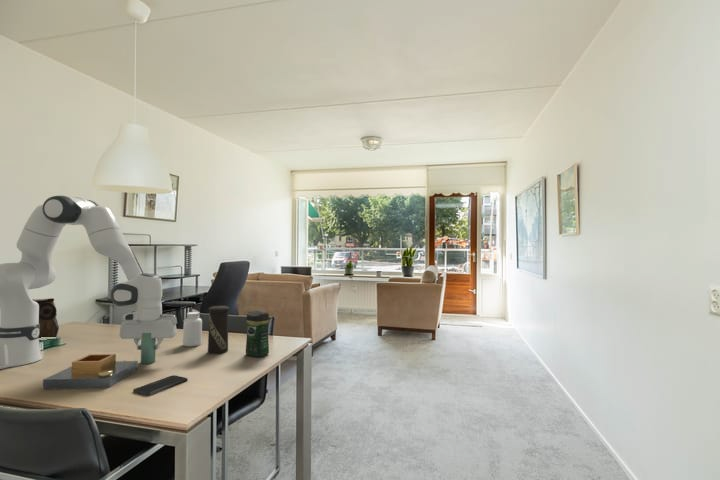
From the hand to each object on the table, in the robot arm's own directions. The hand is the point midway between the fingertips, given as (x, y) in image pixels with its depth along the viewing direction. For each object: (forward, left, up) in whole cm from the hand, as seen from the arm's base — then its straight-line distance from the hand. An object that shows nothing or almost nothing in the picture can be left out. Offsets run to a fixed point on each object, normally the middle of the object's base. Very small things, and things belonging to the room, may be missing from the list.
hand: (148, 349), depth 143 cm
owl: (-68, +43, -5) cm, 81 cm away
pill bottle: (+8, +26, -5) cm, 28 cm away
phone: (+16, -26, -6) cm, 31 cm away
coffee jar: (+41, +8, -5) cm, 42 cm away
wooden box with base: (-10, -17, -5) cm, 20 cm away
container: (+23, +14, -5) cm, 27 cm away
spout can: (0, 0, -5) cm, 5 cm away
